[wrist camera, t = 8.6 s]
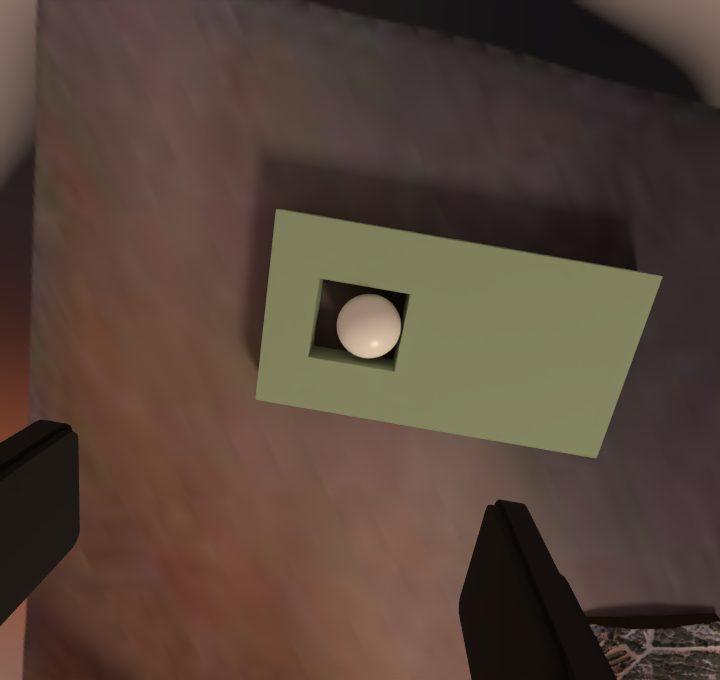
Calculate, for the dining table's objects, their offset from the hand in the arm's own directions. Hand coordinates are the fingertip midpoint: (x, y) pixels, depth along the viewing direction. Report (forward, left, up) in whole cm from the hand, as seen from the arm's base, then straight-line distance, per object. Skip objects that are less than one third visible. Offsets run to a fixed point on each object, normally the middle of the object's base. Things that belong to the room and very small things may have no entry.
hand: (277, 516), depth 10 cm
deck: (-6, 0, -20) cm, 21 cm away
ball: (-2, 0, -18) cm, 18 cm away
